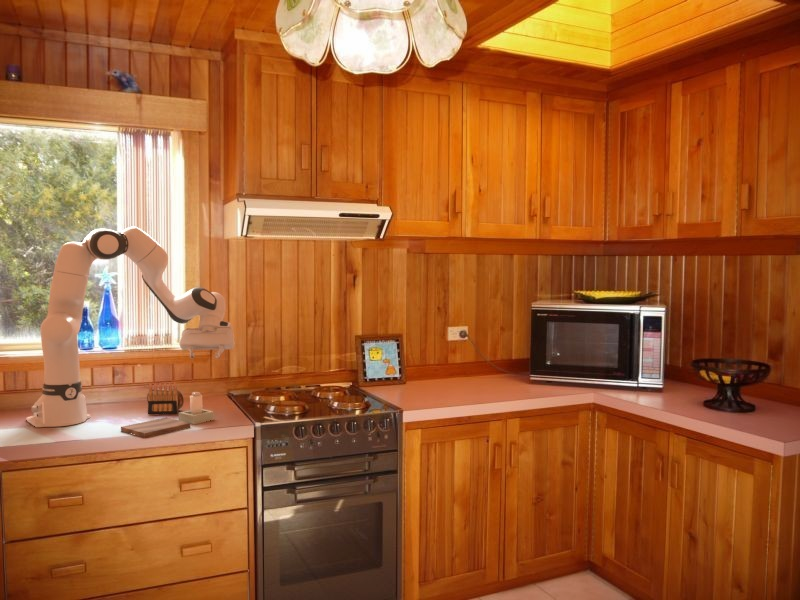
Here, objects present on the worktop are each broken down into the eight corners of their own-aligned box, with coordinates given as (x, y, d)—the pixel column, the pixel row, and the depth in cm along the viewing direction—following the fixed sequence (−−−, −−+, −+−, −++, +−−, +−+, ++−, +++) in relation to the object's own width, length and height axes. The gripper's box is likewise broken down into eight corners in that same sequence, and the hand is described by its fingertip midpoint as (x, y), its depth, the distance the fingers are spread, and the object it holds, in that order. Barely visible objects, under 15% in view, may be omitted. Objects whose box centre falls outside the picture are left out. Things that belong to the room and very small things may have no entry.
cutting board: (121, 431, 216) (120, 426, 216) (166, 421, 230) (166, 417, 230) (144, 437, 208) (144, 433, 208) (190, 427, 221) (190, 423, 221)
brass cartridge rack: (184, 410, 247) (184, 388, 247) (179, 412, 244) (178, 390, 244) (151, 408, 252) (150, 386, 252) (145, 409, 249) (145, 388, 249)
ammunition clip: (178, 413, 243) (178, 381, 243) (177, 414, 242) (176, 382, 241) (149, 413, 242) (148, 381, 242) (147, 414, 241) (147, 382, 240)
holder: (178, 420, 230) (178, 412, 230) (199, 416, 237) (199, 408, 237) (193, 424, 225) (193, 415, 225) (214, 419, 232) (213, 411, 232)
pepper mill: (187, 420, 231) (187, 392, 230) (197, 418, 234) (197, 391, 234) (195, 422, 228) (194, 394, 228) (205, 420, 232) (204, 392, 231)
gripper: (181, 323, 249) (174, 352, 240) (235, 322, 250) (230, 351, 241) (184, 333, 254) (178, 362, 245) (237, 333, 255) (232, 361, 245)
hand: (204, 356), depth 243 cm, fingers open, 8 cm apart
